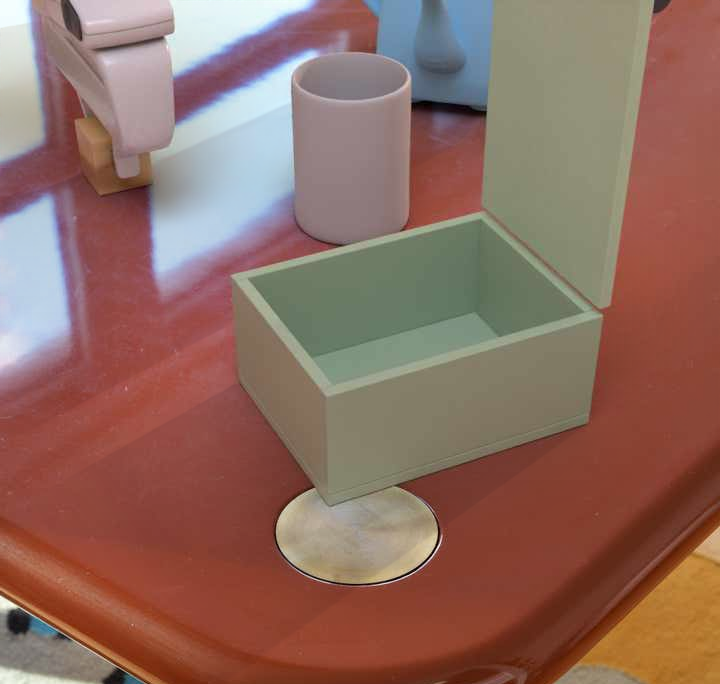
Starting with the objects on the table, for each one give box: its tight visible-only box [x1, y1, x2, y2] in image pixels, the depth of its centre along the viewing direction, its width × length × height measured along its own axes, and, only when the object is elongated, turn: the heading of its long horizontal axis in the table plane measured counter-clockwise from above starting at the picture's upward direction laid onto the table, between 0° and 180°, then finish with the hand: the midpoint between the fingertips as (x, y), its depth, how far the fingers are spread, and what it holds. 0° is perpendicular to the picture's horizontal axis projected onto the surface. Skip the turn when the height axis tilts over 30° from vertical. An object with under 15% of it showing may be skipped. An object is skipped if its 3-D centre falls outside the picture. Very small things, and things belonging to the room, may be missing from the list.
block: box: [74, 115, 154, 197], centre depth 105 cm, size 4×4×4 cm
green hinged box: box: [230, 210, 604, 507], centre depth 82 cm, size 18×14×8 cm
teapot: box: [361, 0, 494, 112], centre depth 114 cm, size 18×16×14 cm
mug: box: [290, 51, 412, 246], centre depth 99 cm, size 12×8×11 cm
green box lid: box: [480, 0, 672, 310], centre depth 77 cm, size 18×14×5 cm
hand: (114, 157), depth 105 cm, fingers closed on block, 4 cm apart
